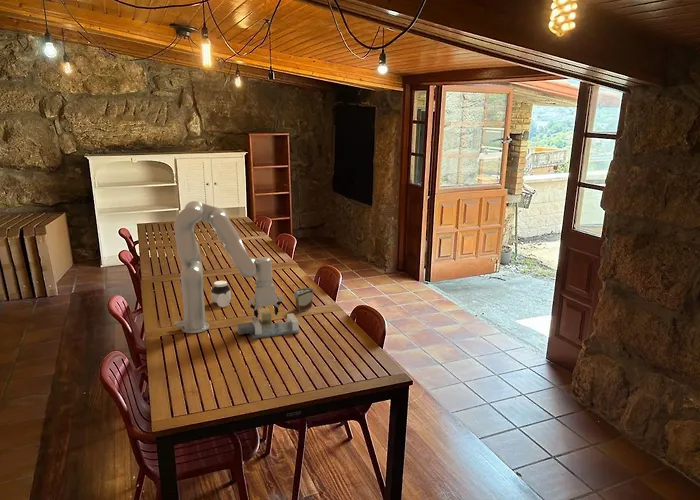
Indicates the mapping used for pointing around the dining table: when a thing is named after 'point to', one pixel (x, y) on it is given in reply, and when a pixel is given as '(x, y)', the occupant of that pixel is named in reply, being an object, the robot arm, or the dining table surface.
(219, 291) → the spread jar
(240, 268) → the robot arm
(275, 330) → the vise
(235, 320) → the dining table surface
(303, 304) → the food container
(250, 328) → the vise jaw
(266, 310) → the brass block
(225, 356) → the dining table surface
